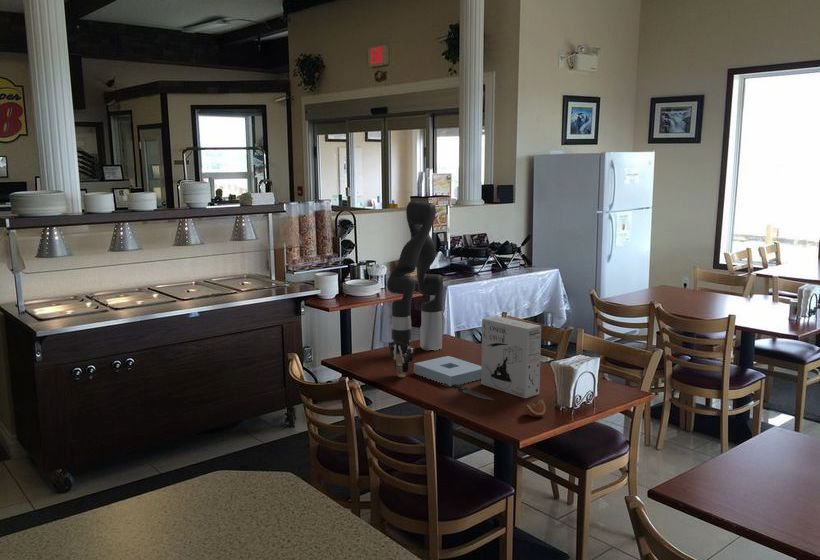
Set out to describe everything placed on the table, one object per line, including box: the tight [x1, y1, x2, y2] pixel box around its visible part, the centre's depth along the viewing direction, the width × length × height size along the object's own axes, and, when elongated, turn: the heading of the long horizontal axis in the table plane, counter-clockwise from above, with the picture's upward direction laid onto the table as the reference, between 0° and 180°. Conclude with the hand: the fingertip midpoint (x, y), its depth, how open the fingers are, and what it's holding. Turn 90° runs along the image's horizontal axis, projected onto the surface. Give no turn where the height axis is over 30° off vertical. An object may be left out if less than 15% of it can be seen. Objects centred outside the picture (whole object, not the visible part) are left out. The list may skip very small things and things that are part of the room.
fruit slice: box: [521, 398, 547, 418], centre depth 224 cm, size 8×7×5 cm
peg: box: [395, 353, 407, 378], centre depth 267 cm, size 4×4×9 cm
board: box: [413, 355, 481, 387], centre depth 268 cm, size 22×18×4 cm
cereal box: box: [480, 315, 542, 399], centre depth 250 cm, size 22×8×25 cm, turn 40°
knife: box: [442, 383, 494, 401], centre depth 249 cm, size 26×1×5 cm
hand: (401, 370), depth 268 cm, fingers closed on peg, 4 cm apart
